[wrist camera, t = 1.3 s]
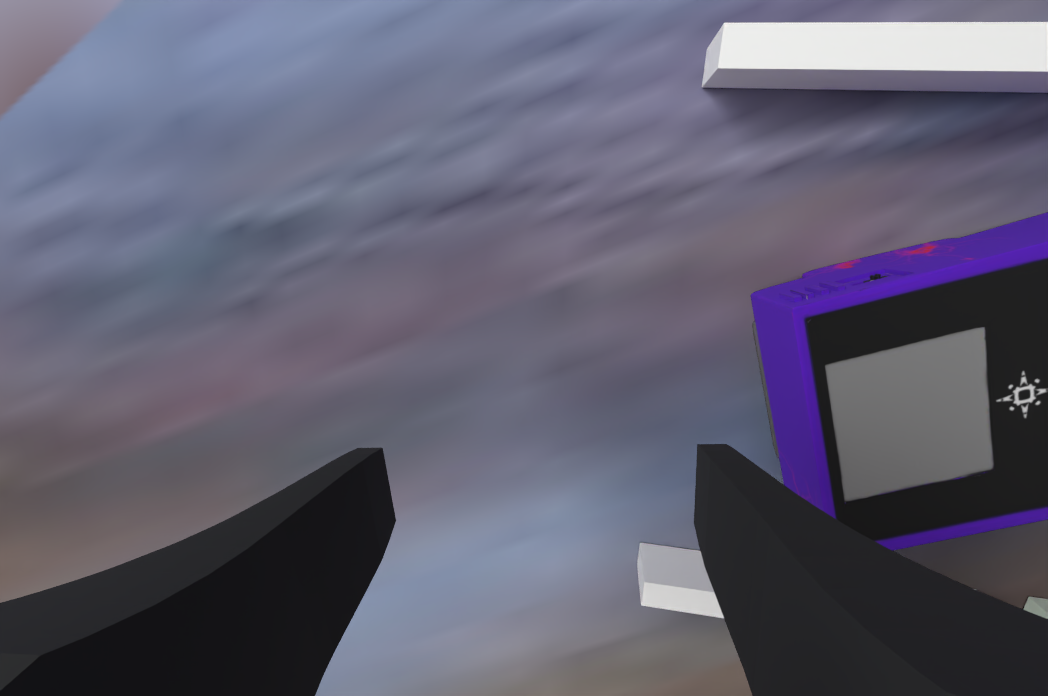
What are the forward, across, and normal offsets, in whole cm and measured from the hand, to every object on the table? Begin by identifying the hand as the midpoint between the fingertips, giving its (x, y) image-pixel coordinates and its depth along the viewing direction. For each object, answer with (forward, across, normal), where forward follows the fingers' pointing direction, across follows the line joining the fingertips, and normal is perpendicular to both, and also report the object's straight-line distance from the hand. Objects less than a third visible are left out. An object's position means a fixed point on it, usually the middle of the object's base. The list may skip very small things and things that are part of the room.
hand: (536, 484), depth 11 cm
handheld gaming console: (+10, -16, +1) cm, 18 cm away
